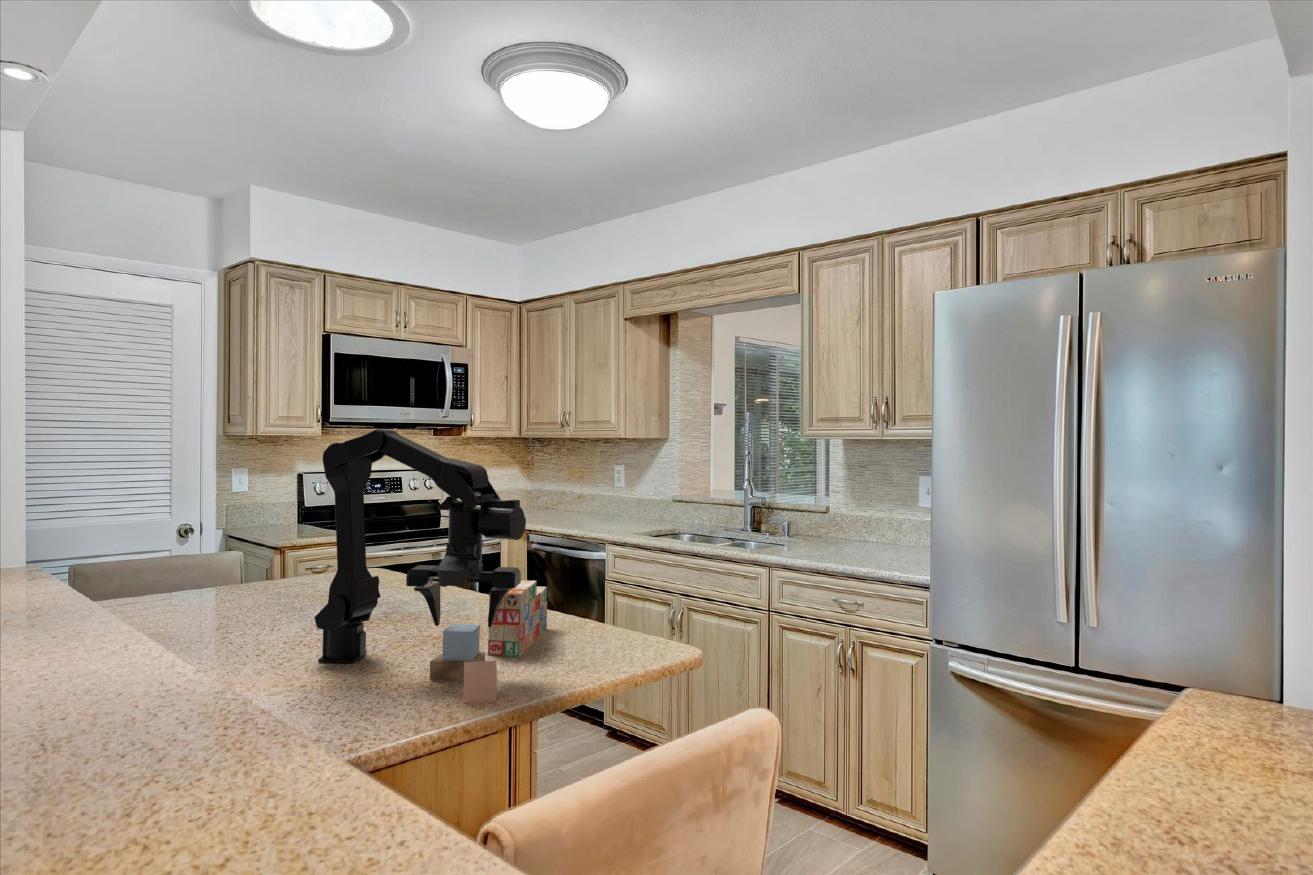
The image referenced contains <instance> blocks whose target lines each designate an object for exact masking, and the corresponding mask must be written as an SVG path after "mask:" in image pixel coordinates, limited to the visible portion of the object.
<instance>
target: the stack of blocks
mask: <svg viewBox="0 0 1313 875" xmlns="http://www.w3.org/2000/svg"><path fill="white" fill-rule="evenodd" d="M537 581H538V580H522V579H521V583H520V584H519V585H518V586H517V587H516V588H513V589H511V590H510V591H509V592H508V593H505V594H504V596H503V598H502V600H501V602H500V605H499V608H498V610H497V613H496V616H495V618H494V621H493V624H492V626H491V627H488V640H487V644H488V645H487V648H488V649H487V656H498V657H499V656H501V657H517V658H518V657H521V655H523V654H524V653H525V652H526V651H527V650H528V649H529V648H531V646H532V645H533V643H534V642H535V641H536V640H537V639H538V638H539V637H540V636H542V634H543V633H544V632H545V631H546V630H547V628H548V627H547V625H548V623H547V618H548V601H547V599H548V597H547V596H548V594H547V593H548V591H547V589H548V587H547V586H537V583H538V582H537ZM488 597H489V599H488V604H489V605H488V607H489V606H490V592H489V596H488Z"/></svg>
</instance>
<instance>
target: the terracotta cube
mask: <svg viewBox="0 0 1313 875" xmlns="http://www.w3.org/2000/svg"><path fill="white" fill-rule="evenodd" d="M497 675H498V667H497V660H485V661H478V662H464V682H463V698H462V699H463V701H462V702H463V704H470V703H472V704H474V703H488V702H489V703H491V702H497V681H498V680H497V679H498V676H497Z"/></svg>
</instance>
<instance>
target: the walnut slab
mask: <svg viewBox="0 0 1313 875" xmlns="http://www.w3.org/2000/svg"><path fill="white" fill-rule="evenodd" d="M478 661H486V652H484V651H479V654H478V655H477V656H476V657H475V658H474V659H473V660H472V661H446V660H443V652H442V653H440V654H439V655H437V656H435V657H434V658H432V659H431V660H430V661H429V680H430V681H439V682H440V681H441V682H442V681H443V682H457V683H464V662H478Z"/></svg>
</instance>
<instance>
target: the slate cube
mask: <svg viewBox="0 0 1313 875" xmlns="http://www.w3.org/2000/svg"><path fill="white" fill-rule="evenodd" d="M480 627H481V625H480V624H474V623H473V624H469V623H467V624H465V623H451V624H449V626H448V627H446V628H445V629H444V630H443V631H442V653H443V660H446V661H472V660H473V659H474V658H475V657H476V656H477V655H478V654H479V652H480V635H481V634H480V632H481V631H480V629H481V628H480Z"/></svg>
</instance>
